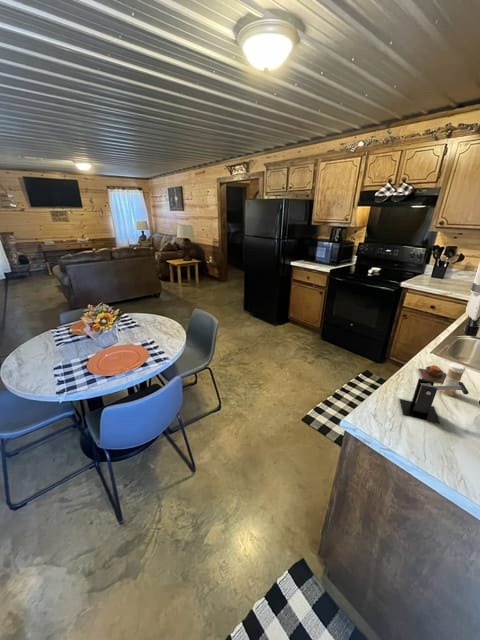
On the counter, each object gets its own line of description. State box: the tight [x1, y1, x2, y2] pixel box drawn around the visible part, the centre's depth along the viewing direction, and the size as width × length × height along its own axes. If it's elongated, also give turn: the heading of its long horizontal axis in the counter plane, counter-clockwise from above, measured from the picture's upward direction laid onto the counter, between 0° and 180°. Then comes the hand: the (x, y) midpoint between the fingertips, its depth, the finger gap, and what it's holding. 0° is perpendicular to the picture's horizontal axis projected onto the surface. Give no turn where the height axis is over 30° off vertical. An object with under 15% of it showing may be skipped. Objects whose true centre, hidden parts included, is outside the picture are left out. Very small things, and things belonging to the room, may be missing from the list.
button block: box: [418, 365, 447, 384], centre depth 113 cm, size 10×9×4 cm
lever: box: [421, 381, 469, 395], centre depth 88 cm, size 12×5×2 cm, turn 68°
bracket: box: [399, 378, 441, 425], centre depth 92 cm, size 11×9×13 cm
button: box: [430, 364, 441, 373], centre depth 113 cm, size 3×3×2 cm
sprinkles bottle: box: [440, 362, 466, 397], centre depth 101 cm, size 5×5×13 cm
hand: (469, 334), depth 101 cm, fingers closed
